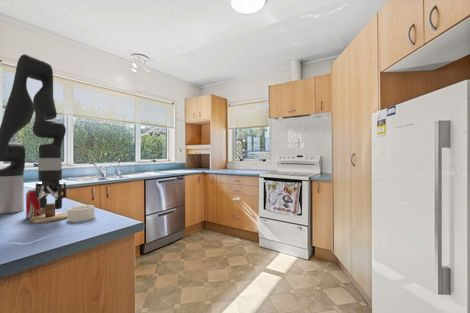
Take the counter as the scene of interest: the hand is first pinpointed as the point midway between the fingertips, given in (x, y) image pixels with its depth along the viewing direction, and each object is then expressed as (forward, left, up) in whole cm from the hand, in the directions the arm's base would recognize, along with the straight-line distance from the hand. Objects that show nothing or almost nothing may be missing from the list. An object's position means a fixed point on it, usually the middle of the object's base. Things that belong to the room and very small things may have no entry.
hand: (50, 208), depth 93 cm
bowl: (+12, +4, -5) cm, 13 cm away
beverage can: (-10, +1, -5) cm, 11 cm away
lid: (0, 0, -4) cm, 4 cm away
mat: (0, 0, -5) cm, 5 cm away
